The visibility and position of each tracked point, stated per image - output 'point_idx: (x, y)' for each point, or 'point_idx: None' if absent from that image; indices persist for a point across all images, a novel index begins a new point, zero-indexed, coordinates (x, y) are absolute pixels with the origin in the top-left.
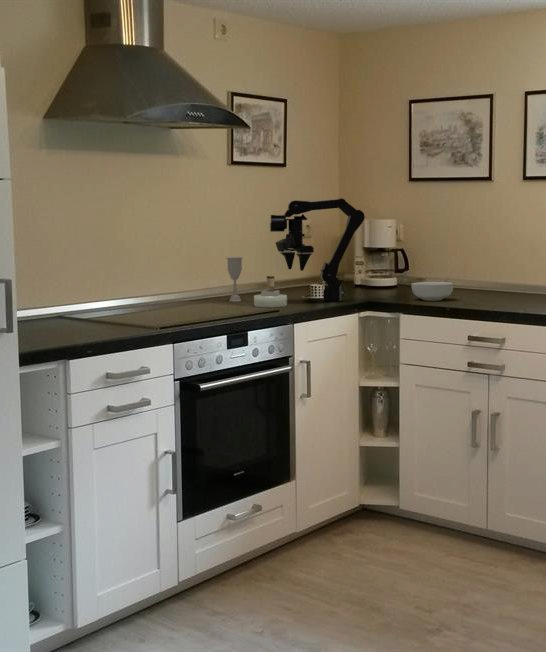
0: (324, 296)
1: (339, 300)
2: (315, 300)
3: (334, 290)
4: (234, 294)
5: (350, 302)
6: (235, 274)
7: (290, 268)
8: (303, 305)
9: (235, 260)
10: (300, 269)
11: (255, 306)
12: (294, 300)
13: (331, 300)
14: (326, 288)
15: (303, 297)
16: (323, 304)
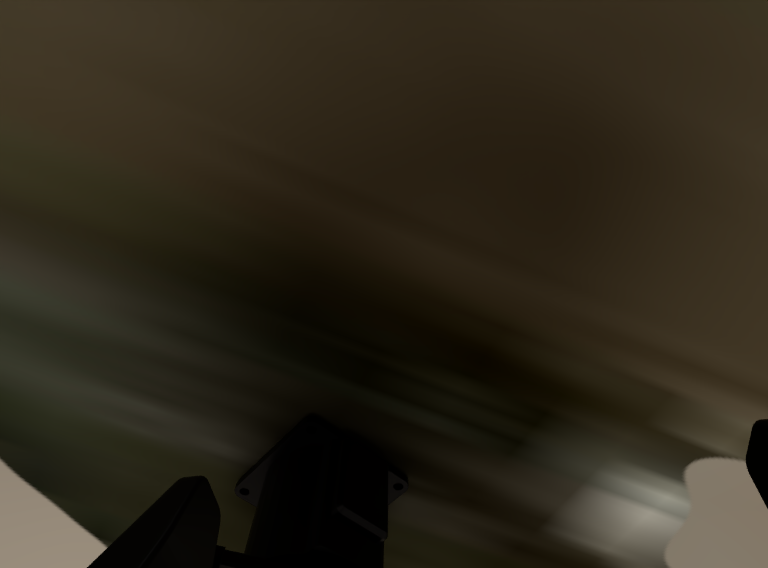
0: (337, 460)
1: (252, 503)
2: (453, 403)
3: (244, 552)
4: None
5: None
6: None
7: (758, 465)
8: (30, 128)
9: None
10: (180, 489)
11: None
12: (567, 252)
13: (265, 459)
14: (308, 532)
15: (757, 420)
16: (86, 329)
